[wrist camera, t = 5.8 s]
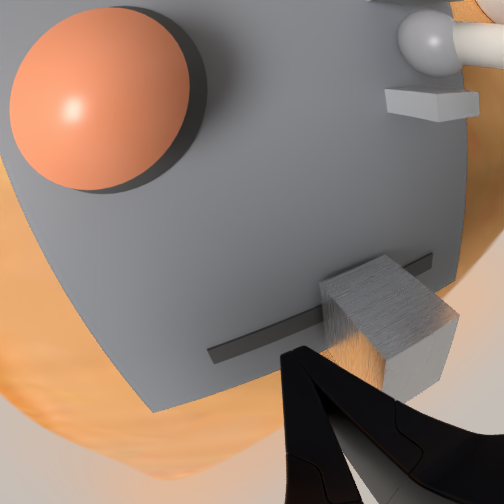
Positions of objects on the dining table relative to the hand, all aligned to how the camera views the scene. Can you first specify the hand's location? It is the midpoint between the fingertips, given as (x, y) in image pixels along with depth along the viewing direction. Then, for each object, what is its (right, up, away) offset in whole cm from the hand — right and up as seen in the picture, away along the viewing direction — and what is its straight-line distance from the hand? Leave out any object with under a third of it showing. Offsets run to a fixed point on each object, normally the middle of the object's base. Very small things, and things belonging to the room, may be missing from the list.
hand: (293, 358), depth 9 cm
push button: (-4, +6, -3) cm, 8 cm away
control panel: (-1, +6, +1) cm, 6 cm away
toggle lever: (+3, +9, -3) cm, 10 cm away
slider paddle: (+2, +1, +1) cm, 3 cm away
